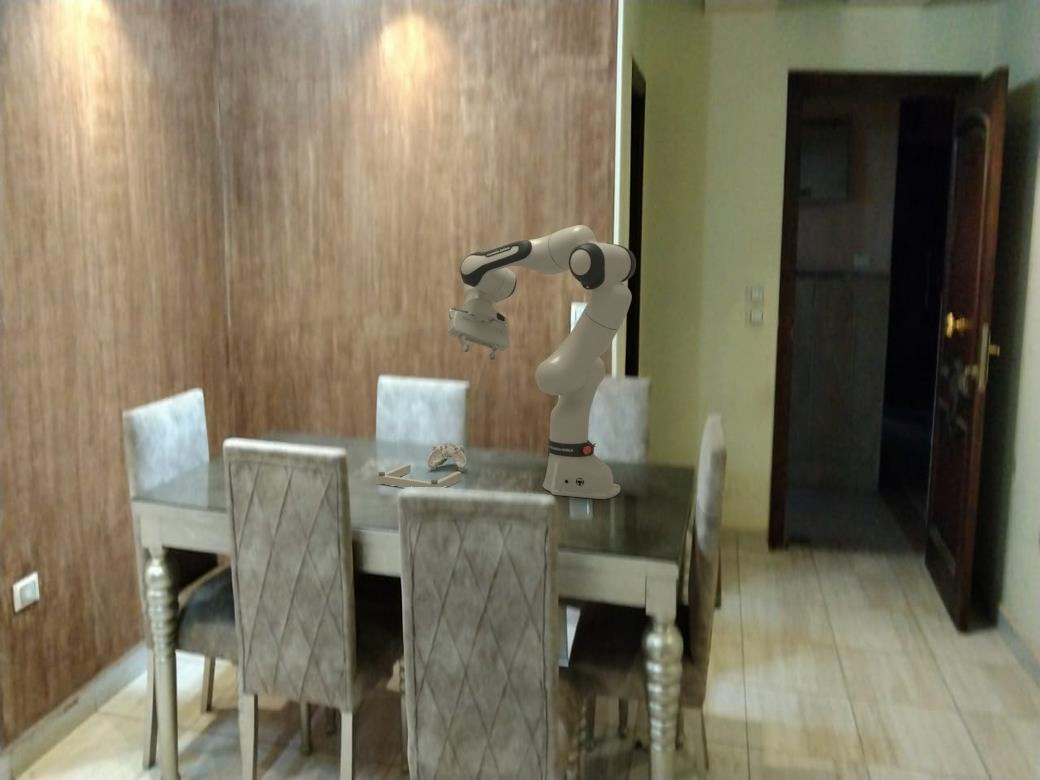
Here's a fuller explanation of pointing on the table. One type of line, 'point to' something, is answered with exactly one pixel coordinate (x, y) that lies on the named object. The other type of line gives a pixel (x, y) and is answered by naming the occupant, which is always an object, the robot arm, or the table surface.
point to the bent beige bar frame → (394, 479)
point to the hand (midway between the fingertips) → (479, 355)
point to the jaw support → (447, 456)
